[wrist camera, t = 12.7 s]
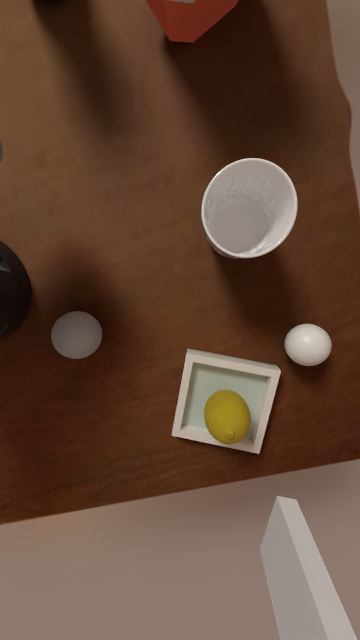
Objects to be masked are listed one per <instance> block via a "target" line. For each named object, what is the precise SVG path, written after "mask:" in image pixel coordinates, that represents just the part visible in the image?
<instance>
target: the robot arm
mask: <svg viewBox="0 0 360 640" xmlns="http://www.w3.org/2000/svg"><path fill="white" fill-rule="evenodd" d="M2 154H3V149H2V144H1V140H0V162H1V159H2ZM29 304H30V286H29V281H28V277H27V274H26V272H25V269H24V267H23V265H22V263H21V262H20V260H19V259H18V257H17V256H16V254H15V253H14V252H13V251H12V250H11V249H10V248H9V247H8V246H7V245H6V244H4V243H3V242H2V241H0V339H2V338H4V337H7V336H8V335H10V334H12V333H13V332H14V331H15V330H16V329H17V328H18V327H19V326H20V325H21V324H22V322H23V321H24V319H25V317H26V314H27V312H28V308H29ZM260 552H261V557H262V561H263V565H264V570H265V574H266V579H267V583H268V588H269V592H270V596H271V601H272V605H273V609H274V614H275V618H276V622H277V627H278V631H279V635H280V639H281V640H357V638H356V636H355V634H354V631H353V629H352V627H351V624H350V622H349V620H348V618H347V615H346V613H345V611H344V608H343V606H342V604H341V602H340V599H339V597H338V595H337V592H336V590H335V588H334V585H333V583H332V581H331V578H330V576H329V574H328V571H327V569H326V567H325V565H324V562H323V560H322V558H321V555H320V553H319V551H318V549H317V546H316V544H315V542H314V539H313V537H312V535H311V532H310V530H309V528H308V526H307V523H306V521H305V519H304V516H303V514H302V512H301V509H300V507H299V505H298V502H297V500H295V499H290V498H285V497H280V496H277V497H276V501H275V504H274V507H273V510H272V513H271V517H270V520H269V522H268V526H267V529H266V532H265V535H264V538H263V541H262V545H261V548H260Z"/></svg>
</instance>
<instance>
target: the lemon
mask: <svg viewBox="0 0 360 640" xmlns="http://www.w3.org/2000/svg"><path fill="white" fill-rule="evenodd" d="M204 420H205V424H206V427H207V429H208V431H209V433H210V434H211V435H212V436H213V438H214V439H216V440H217V441H219V442H221V443H224V444H235V443H238V442H240V441H241V440H243V439H244V438H245V437H246V435H247V433H248V431H249V428H250V424H251V416H250V411H249V408H248V405H247V403H246V402H245V400H244V399H243V398H242V397H241V396H240V395H239V394H238V393H236V392H234V391H231V390H219V391H217V392H215V393H213V394H212V395H211V396H210V397H209V399H208V400H207V402H206V405H205V408H204Z"/></svg>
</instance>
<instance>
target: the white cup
mask: <svg viewBox="0 0 360 640" xmlns="http://www.w3.org/2000/svg"><path fill="white" fill-rule="evenodd" d="M296 214H297V195H296V191H295V188H294V185H293V183H292V181H291V179H290V178H289V176H288V175H287V174H286V173H285V172H284V171H283V170H282V169H281V168H280V167H279V166H277V165H276V164H274V163H272V162H270V161H267V160H264V159H258V158H248V159H242V160H238V161H236V162H233V163H231V164H229V165H227V166H226V167H224V168H223V169H222V170H221V171H219V172H218V173H217V174H216V176H215V177H214V178H213V179H212V181H211V182H210V184H209V185H208V187H207V189H206V192H205V194H204V198H203V202H202V221H203V225H204V230H205V234H206V237H207V239H208V241H209V243H210V245H211V246H212V247H213V249H214V250H215V251H217V252H218V253H219V254H221V255H222V256H225V257H229V258H236V259H242V258H253V257H258V256H261V255H264V254H266V253H268V252H270V251H272V250H273V249H275V248H276V247H277V246H279V245H280V244H281V243H282V242H283V241H284V239H285V238H286V237H287V236H288V234H289V232H290V231H291V229H292V227H293V224H294V222H295V218H296Z"/></svg>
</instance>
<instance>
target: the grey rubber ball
mask: <svg viewBox="0 0 360 640" xmlns="http://www.w3.org/2000/svg"><path fill="white" fill-rule="evenodd" d="M51 340H52V343H53V346H54V347H55V349H56V350H57V351H58V352H59V353H60V354H62V355H63V356H65V357H68V358H72V359H80V358H84V357H87V356H89V355H91V354H92V353H94V352H95V351H96V350H97V348H98V347H99V345H100V343H101V340H102V329H101V326H100V324H99V322H98V321H97V320H96V319H95V318H94V317H93V316H92V315H90V314H88V313H85V312H80V311H74V312H69V313H66V314H64V315H63V316H61V317H60V318H59V319H58V320H57V321H56V322H55V324H54V325H53V328H52V331H51Z"/></svg>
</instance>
